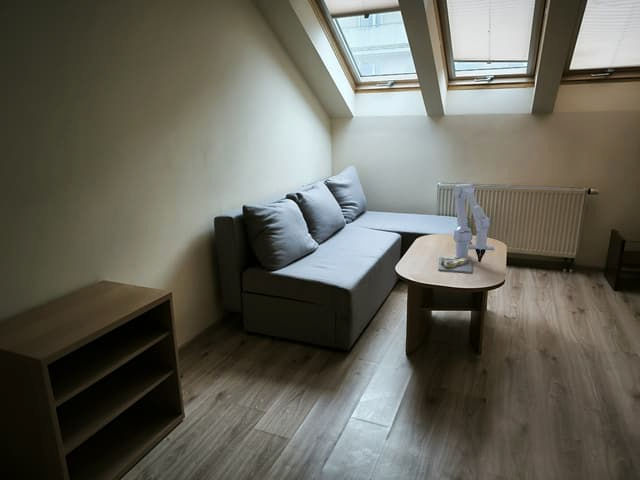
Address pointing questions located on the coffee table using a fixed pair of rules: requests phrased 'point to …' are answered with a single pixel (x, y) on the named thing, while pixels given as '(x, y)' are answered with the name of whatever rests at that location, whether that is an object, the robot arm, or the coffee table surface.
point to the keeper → (445, 259)
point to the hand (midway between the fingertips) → (479, 261)
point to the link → (456, 262)
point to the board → (456, 267)
